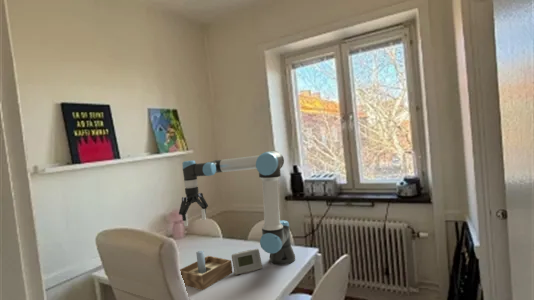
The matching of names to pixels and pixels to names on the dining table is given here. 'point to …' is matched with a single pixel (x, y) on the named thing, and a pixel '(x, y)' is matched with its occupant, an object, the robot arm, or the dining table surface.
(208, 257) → the open box
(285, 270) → the dining table surface
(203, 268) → the dowel
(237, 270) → the digital clock
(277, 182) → the robot arm
